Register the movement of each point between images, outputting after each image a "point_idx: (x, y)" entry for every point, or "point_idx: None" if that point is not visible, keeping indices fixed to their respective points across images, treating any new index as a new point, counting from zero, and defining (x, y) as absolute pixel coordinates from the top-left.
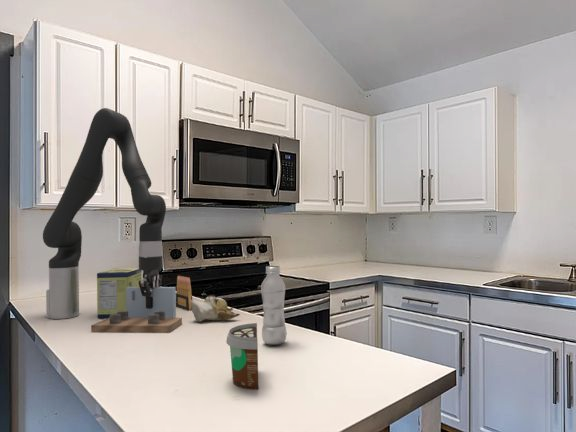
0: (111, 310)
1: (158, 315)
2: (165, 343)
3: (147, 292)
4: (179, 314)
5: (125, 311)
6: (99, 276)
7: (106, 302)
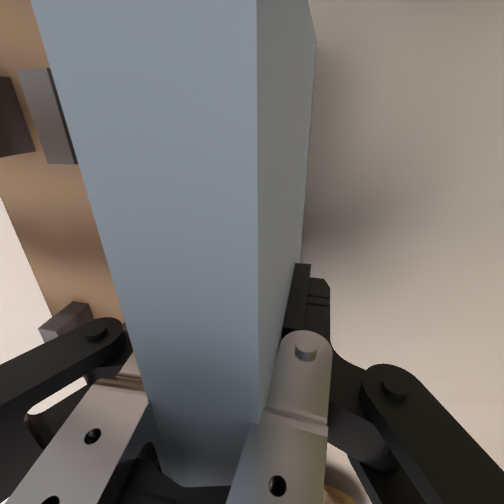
0: None
1: None
2: (10, 359)
3: (62, 404)
4: (437, 352)
5: (60, 145)
6: None
7: None
